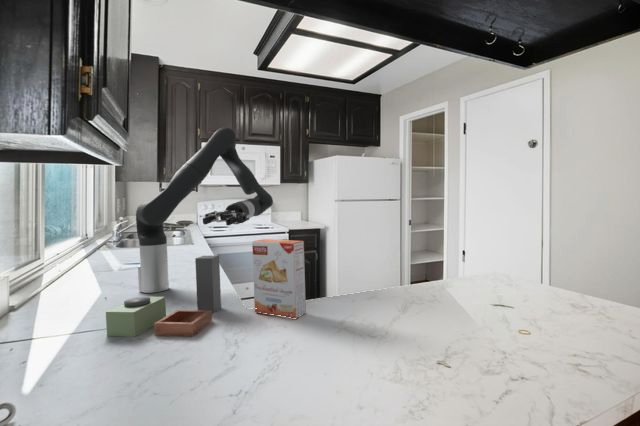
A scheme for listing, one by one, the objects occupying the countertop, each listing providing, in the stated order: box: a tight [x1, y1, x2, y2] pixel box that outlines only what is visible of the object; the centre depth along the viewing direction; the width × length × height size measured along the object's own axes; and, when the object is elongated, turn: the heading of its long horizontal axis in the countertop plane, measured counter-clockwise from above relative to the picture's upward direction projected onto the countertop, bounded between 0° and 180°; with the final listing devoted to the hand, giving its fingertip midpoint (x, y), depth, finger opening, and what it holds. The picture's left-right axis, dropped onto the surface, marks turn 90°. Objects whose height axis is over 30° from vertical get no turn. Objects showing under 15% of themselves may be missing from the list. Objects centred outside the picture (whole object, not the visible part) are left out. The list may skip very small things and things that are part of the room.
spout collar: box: [153, 309, 213, 337], centre depth 86 cm, size 10×10×3 cm
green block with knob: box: [105, 296, 167, 338], centre depth 89 cm, size 8×13×7 cm, turn 172°
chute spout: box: [194, 255, 222, 314], centre depth 100 cm, size 5×5×16 cm
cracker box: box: [251, 238, 307, 319], centre depth 95 cm, size 14×6×21 cm, turn 62°
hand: (215, 221), depth 109 cm, fingers open, 8 cm apart
